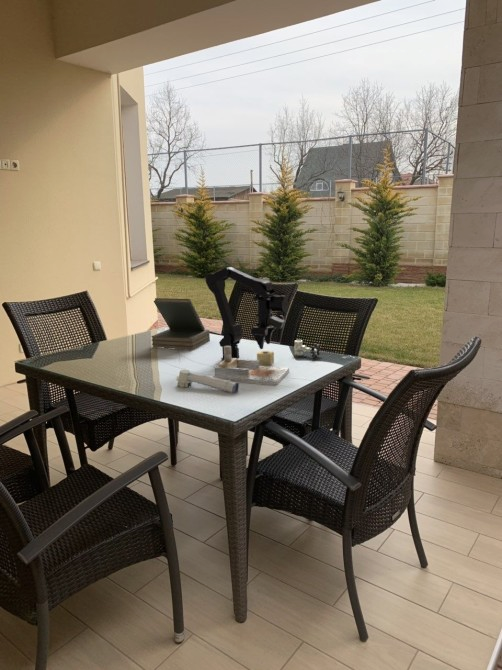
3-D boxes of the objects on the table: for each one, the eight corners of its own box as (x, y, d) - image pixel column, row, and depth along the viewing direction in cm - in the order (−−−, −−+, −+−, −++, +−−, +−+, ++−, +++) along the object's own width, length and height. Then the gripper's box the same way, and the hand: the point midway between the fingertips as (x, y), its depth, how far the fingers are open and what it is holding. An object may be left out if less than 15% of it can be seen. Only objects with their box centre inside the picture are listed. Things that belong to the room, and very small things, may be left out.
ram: (218, 372, 193) (217, 349, 191) (228, 365, 202) (227, 343, 200) (228, 373, 192) (227, 350, 190) (237, 366, 201) (236, 344, 199)
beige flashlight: (233, 385, 172) (174, 368, 182) (231, 402, 174) (173, 385, 183) (240, 380, 176) (182, 365, 186) (238, 397, 178) (181, 381, 188)
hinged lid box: (210, 341, 255) (207, 294, 250) (193, 350, 237) (190, 300, 232) (171, 339, 263) (168, 293, 258) (152, 348, 245) (148, 299, 240)
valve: (290, 355, 222) (312, 359, 215) (290, 341, 221) (312, 345, 213) (299, 352, 227) (320, 356, 219) (299, 338, 226) (320, 342, 218)
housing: (257, 364, 209) (256, 353, 208) (260, 361, 214) (260, 350, 213) (270, 365, 207) (270, 353, 206) (273, 362, 212) (273, 351, 211)
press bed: (212, 379, 190) (212, 368, 189) (229, 367, 207) (229, 356, 206) (276, 385, 182) (276, 373, 181) (289, 371, 198) (289, 360, 197)
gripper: (276, 315, 194) (276, 353, 198) (288, 307, 212) (288, 342, 215) (249, 314, 198) (250, 351, 202) (264, 306, 215) (264, 341, 219)
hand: (265, 346), depth 209 cm, fingers open, 9 cm apart
